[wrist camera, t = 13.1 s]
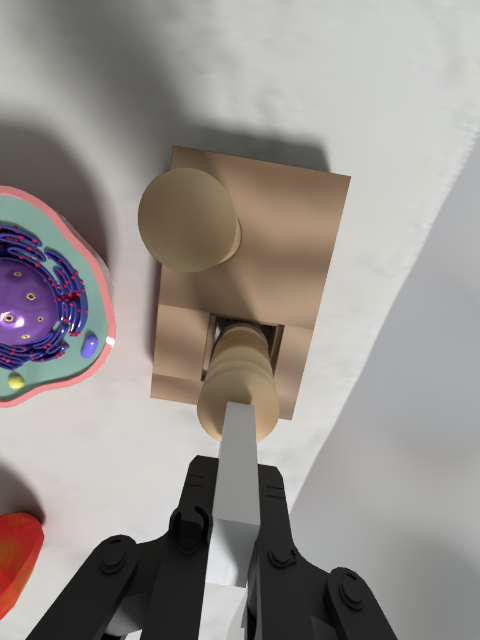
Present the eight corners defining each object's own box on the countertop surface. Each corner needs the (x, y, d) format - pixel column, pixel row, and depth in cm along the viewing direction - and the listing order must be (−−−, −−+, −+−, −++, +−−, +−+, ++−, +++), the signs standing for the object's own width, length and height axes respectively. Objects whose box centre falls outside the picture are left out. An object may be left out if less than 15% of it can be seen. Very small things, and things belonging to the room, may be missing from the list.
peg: (223, 309, 28) (200, 364, 14) (268, 316, 28) (288, 378, 14) (217, 352, 29) (190, 440, 15) (260, 358, 29) (272, 452, 16)
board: (184, 161, 24) (106, 51, 11) (334, 188, 25) (441, 112, 11) (162, 378, 30) (93, 484, 16) (285, 398, 30) (317, 518, 17)
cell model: (-61, 202, 26) (-284, 167, 15) (144, 203, 26) (67, 168, 15) (-20, 364, 30) (-172, 428, 19) (156, 367, 30) (103, 435, 19)
